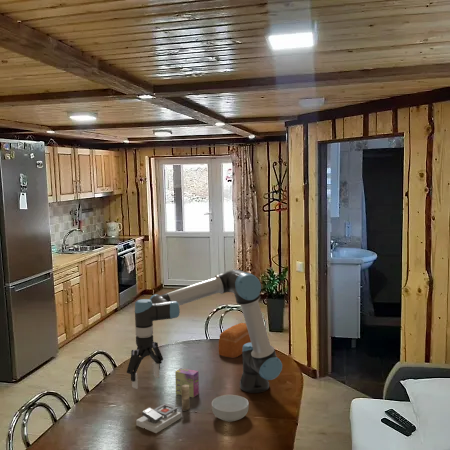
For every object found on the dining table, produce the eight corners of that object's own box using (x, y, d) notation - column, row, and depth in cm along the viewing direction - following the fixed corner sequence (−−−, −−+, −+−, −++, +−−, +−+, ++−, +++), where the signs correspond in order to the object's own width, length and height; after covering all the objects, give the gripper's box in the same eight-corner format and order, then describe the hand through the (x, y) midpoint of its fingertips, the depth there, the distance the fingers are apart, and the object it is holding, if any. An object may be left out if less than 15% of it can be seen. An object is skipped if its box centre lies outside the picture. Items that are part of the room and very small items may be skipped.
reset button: (171, 413, 219) (171, 410, 219) (165, 416, 215) (165, 413, 215) (164, 411, 221) (164, 407, 221) (158, 414, 218) (158, 411, 218)
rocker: (162, 418, 211) (162, 415, 211) (155, 423, 208) (155, 419, 207) (149, 410, 216) (149, 407, 215) (142, 414, 212) (142, 411, 212)
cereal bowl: (236, 430, 206) (236, 414, 206) (204, 421, 215) (204, 405, 214) (255, 413, 220) (255, 399, 220) (224, 405, 229) (224, 391, 229)
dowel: (191, 408, 227) (190, 385, 226) (186, 411, 224) (185, 388, 223) (185, 406, 229) (184, 384, 228) (180, 409, 227) (179, 386, 226)
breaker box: (181, 417, 218) (180, 408, 218) (156, 433, 205) (155, 423, 205) (161, 411, 225) (161, 402, 225) (136, 425, 212) (136, 416, 212)
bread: (216, 355, 296) (215, 330, 295) (238, 342, 318) (238, 319, 317) (235, 359, 289) (235, 333, 287) (256, 346, 311) (256, 322, 309)
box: (199, 393, 243) (198, 370, 242) (193, 397, 238) (193, 374, 237) (181, 389, 248) (180, 367, 247) (175, 394, 243) (174, 371, 242)
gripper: (158, 326, 222) (159, 371, 224) (116, 341, 203) (118, 390, 205) (170, 329, 218) (171, 375, 220) (129, 344, 198) (131, 394, 200)
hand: (146, 382), depth 212 cm, fingers open, 12 cm apart
